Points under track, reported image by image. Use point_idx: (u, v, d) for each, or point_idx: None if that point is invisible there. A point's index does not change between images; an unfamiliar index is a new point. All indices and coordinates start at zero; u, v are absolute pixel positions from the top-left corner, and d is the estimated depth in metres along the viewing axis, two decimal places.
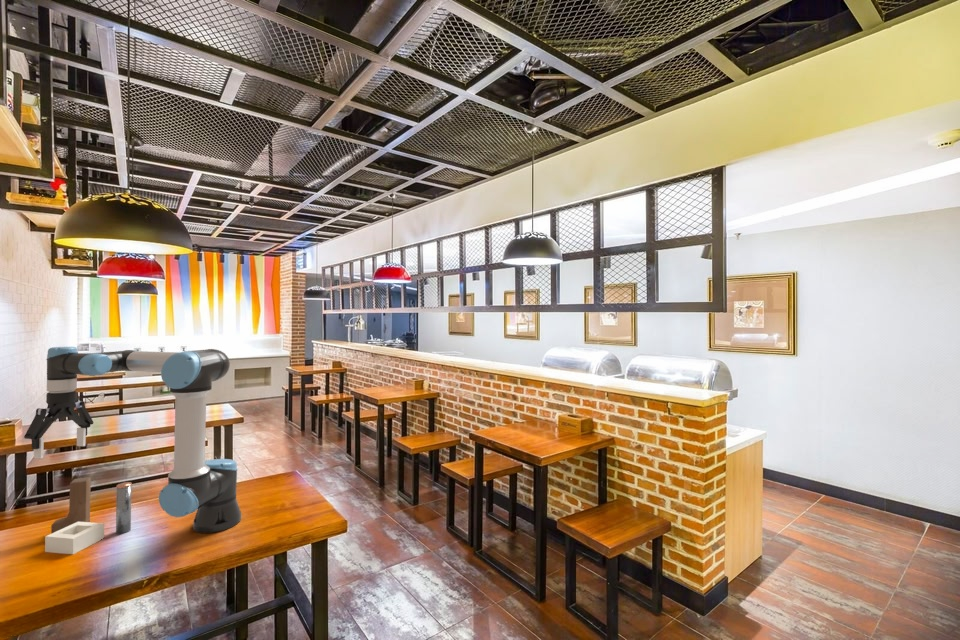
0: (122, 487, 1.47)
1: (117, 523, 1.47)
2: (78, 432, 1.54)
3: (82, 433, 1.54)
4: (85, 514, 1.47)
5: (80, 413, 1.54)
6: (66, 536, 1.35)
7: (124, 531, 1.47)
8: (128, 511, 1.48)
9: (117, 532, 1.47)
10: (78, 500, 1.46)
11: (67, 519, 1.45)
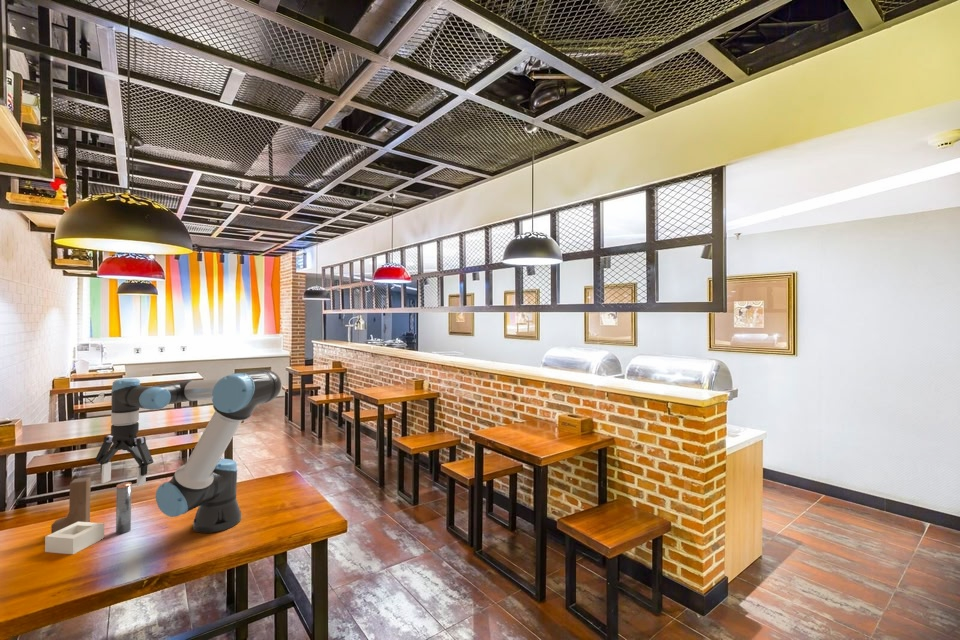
0: (122, 487, 1.47)
1: (117, 523, 1.47)
2: None
3: None
4: (85, 514, 1.47)
5: None
6: (66, 536, 1.35)
7: (124, 531, 1.47)
8: (128, 511, 1.48)
9: (117, 532, 1.47)
10: (78, 500, 1.46)
11: (67, 519, 1.45)
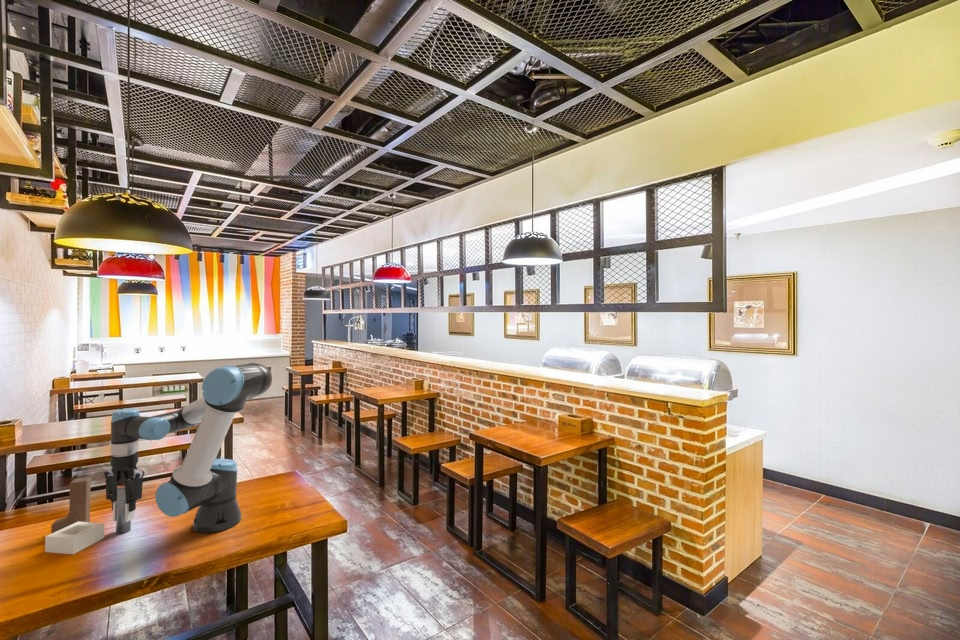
0: (122, 487, 1.47)
1: (117, 523, 1.47)
2: None
3: None
4: (85, 514, 1.47)
5: None
6: (66, 536, 1.35)
7: (124, 531, 1.47)
8: None
9: (117, 532, 1.47)
10: (78, 500, 1.46)
11: (67, 519, 1.45)
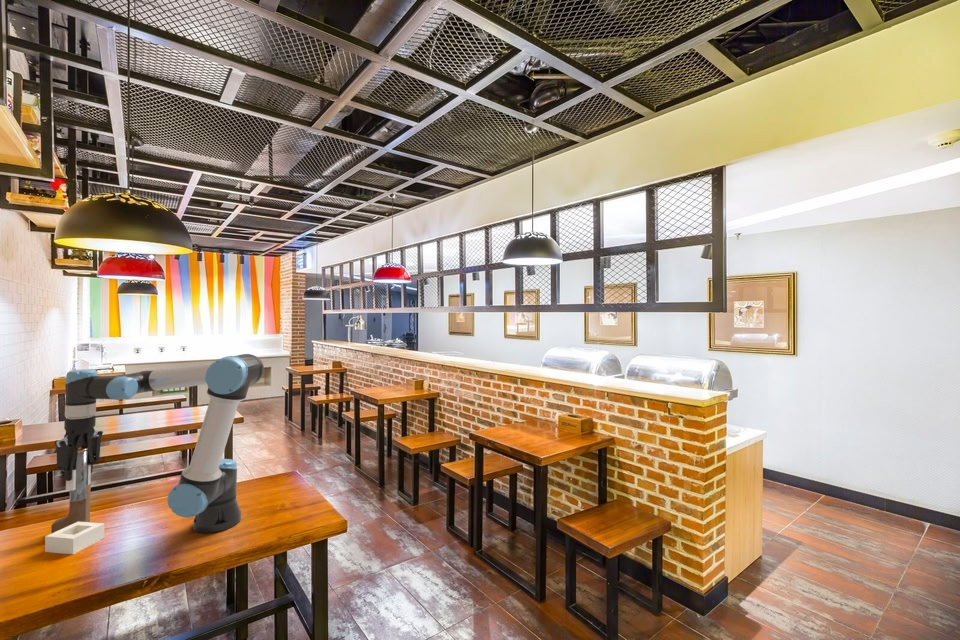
0: (87, 449, 1.41)
1: (82, 488, 1.39)
2: None
3: (87, 470, 1.42)
4: (85, 514, 1.47)
5: (92, 444, 1.44)
6: (66, 536, 1.35)
7: None
8: None
9: (82, 498, 1.39)
10: None
11: (67, 519, 1.45)
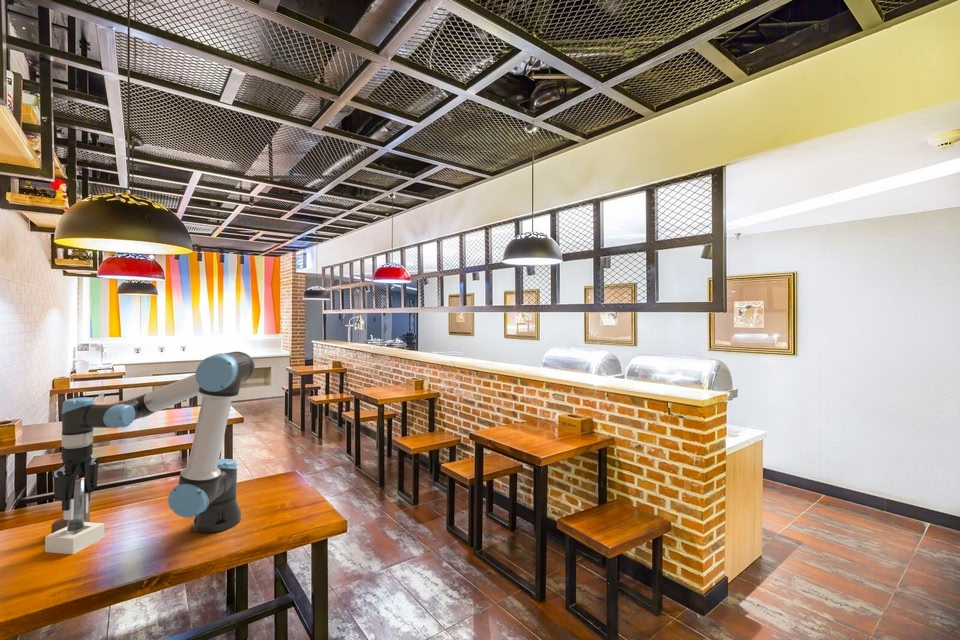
0: (84, 478, 1.40)
1: (80, 517, 1.39)
2: None
3: None
4: (85, 514, 1.47)
5: (89, 472, 1.44)
6: (66, 536, 1.35)
7: (83, 524, 1.41)
8: None
9: (80, 527, 1.39)
10: None
11: None
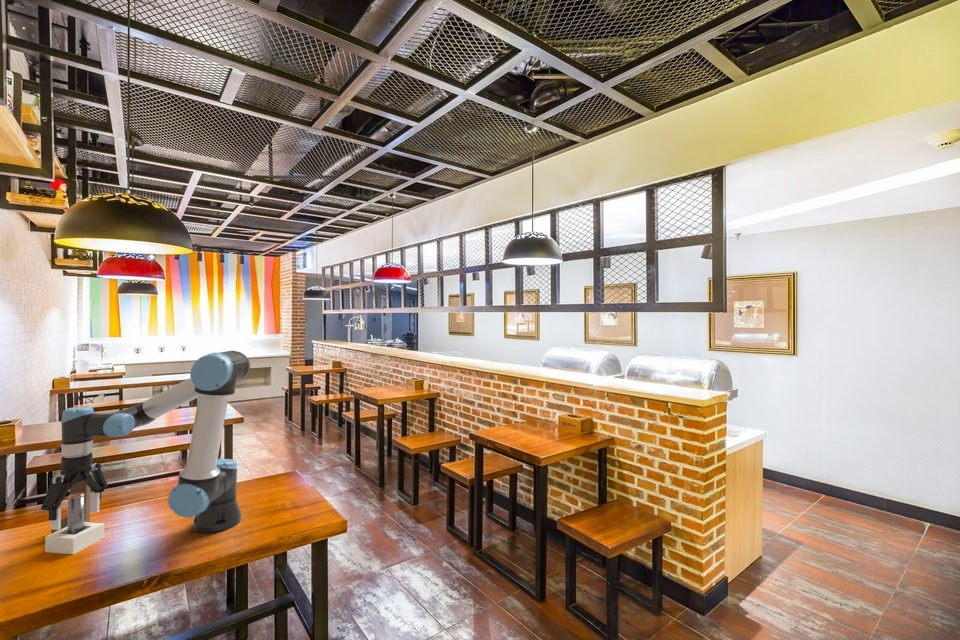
0: (84, 494, 1.40)
1: None
2: (92, 497, 1.45)
3: (96, 498, 1.45)
4: (85, 514, 1.47)
5: (95, 476, 1.46)
6: (66, 536, 1.35)
7: None
8: None
9: None
10: None
11: (67, 519, 1.45)
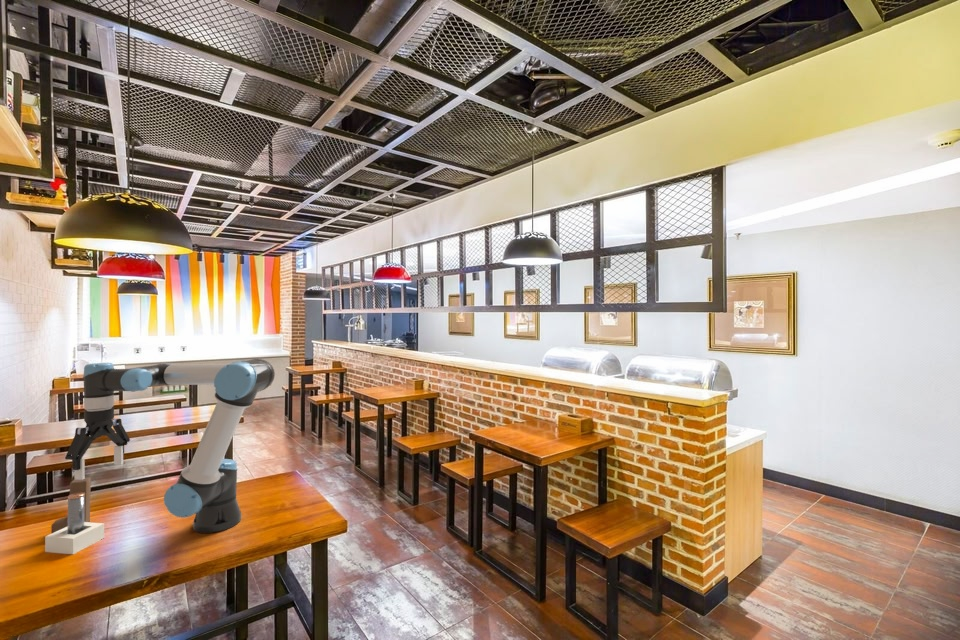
0: (84, 494, 1.40)
1: None
2: (115, 450, 1.49)
3: (119, 451, 1.49)
4: (85, 514, 1.47)
5: (117, 431, 1.49)
6: (66, 536, 1.35)
7: None
8: None
9: None
10: None
11: (67, 519, 1.45)
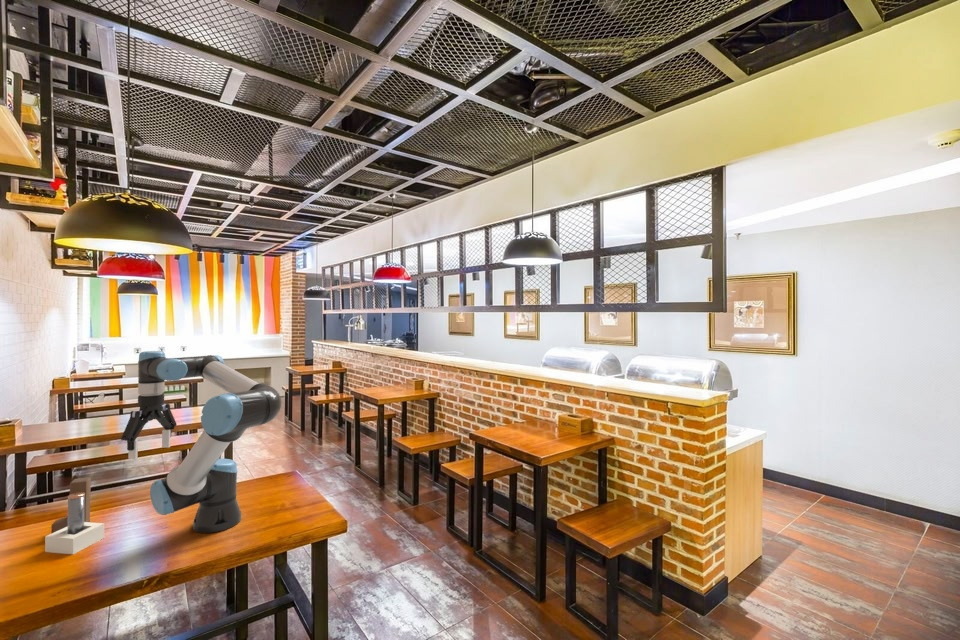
0: (84, 494, 1.40)
1: None
2: (163, 434, 1.58)
3: (167, 435, 1.58)
4: (85, 514, 1.47)
5: (165, 415, 1.59)
6: (66, 536, 1.35)
7: None
8: None
9: None
10: None
11: (67, 519, 1.45)
